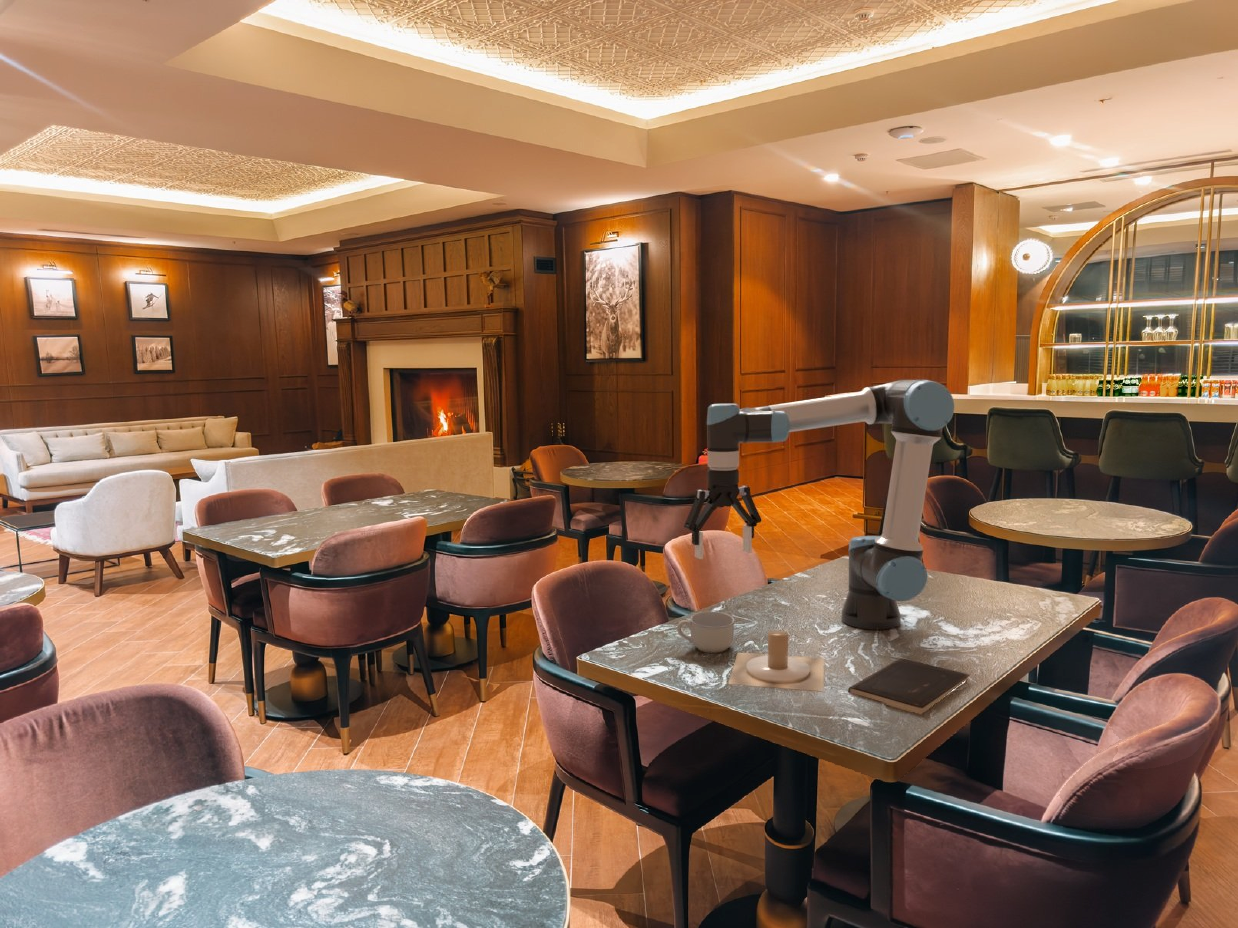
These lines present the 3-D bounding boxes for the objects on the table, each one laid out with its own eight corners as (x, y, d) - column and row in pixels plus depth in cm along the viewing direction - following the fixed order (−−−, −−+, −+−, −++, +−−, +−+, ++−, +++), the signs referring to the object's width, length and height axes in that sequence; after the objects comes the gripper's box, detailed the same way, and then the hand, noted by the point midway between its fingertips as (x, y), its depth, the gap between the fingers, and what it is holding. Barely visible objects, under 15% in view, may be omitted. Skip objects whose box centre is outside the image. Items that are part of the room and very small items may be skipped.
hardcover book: (969, 684, 177) (969, 674, 177) (922, 718, 161) (922, 706, 161) (898, 666, 189) (898, 657, 188) (848, 696, 172) (848, 685, 172)
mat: (823, 659, 192) (823, 658, 192) (823, 692, 173) (823, 691, 173) (737, 654, 197) (737, 652, 197) (728, 685, 178) (728, 683, 178)
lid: (810, 661, 190) (810, 626, 189) (809, 684, 176) (809, 646, 175) (749, 657, 193) (749, 622, 192) (743, 679, 180) (743, 642, 179)
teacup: (733, 642, 206) (733, 611, 205) (735, 657, 195) (735, 624, 194) (677, 641, 207) (677, 610, 206) (676, 656, 196) (676, 624, 195)
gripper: (758, 463, 206) (758, 546, 208) (669, 470, 196) (670, 557, 198) (775, 466, 199) (775, 552, 201) (684, 473, 189) (685, 563, 191)
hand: (723, 555), depth 200 cm, fingers open, 13 cm apart
